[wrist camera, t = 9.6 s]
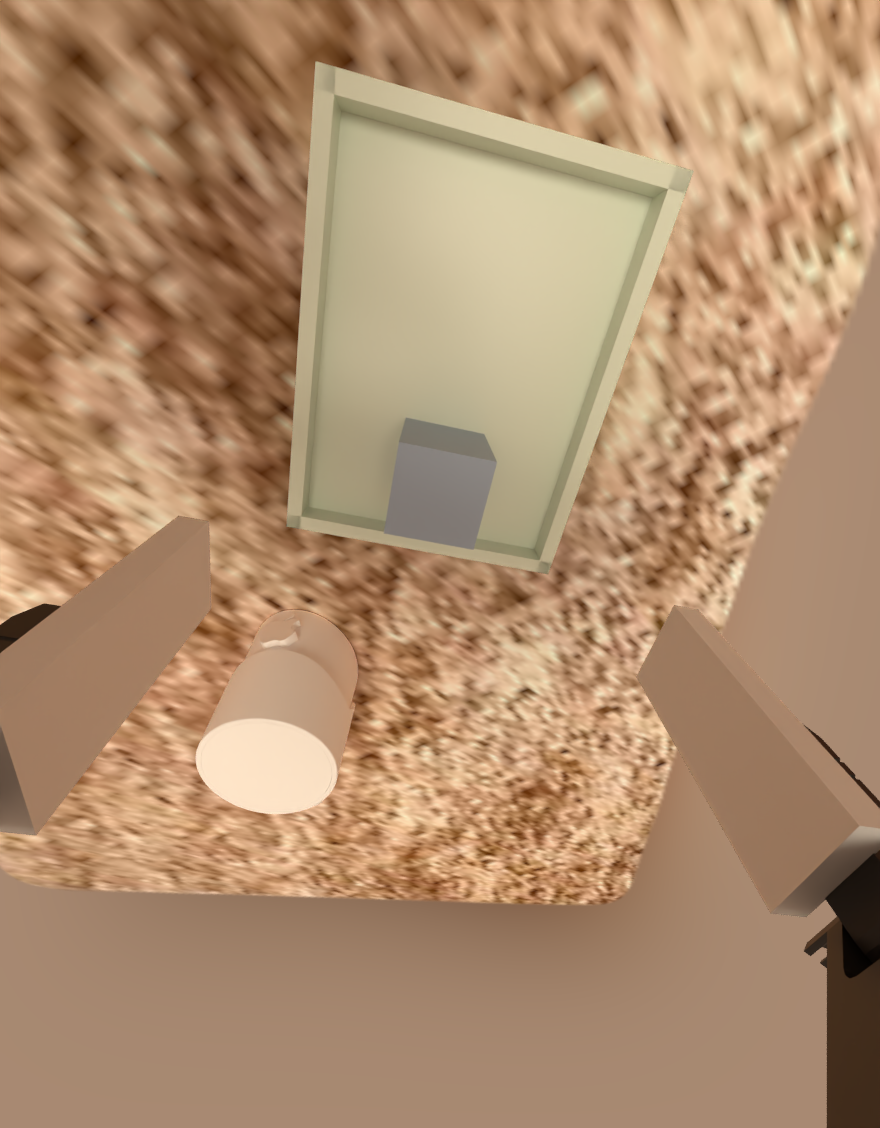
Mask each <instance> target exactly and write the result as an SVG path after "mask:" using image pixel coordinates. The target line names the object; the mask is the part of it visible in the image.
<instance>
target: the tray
mask: <svg viewBox="0 0 880 1128" xmlns="http://www.w3.org/2000/svg"><path fill="white" fill-rule="evenodd" d="M692 174H693V170H689V169H686V168H682V167H679V166H675V165H672V164H669V163H665V162H662V161H658V160H655V159H651V158H648V157H644V156H641V155H638V154H634V153H631V152H627V151H624V150H620V149H617V148H613V147H610V146H607V145H603V144H600V143H596V142H593V141H589V140H586V139H582V138H579V137H576V136H572V135H569V134H565V133H562V132H558V131H555V130H551V129H548V128H545V127H541V126H538V125H534V124H531V123H527V122H524V121H520V120H517V119H514V118H510V117H507V116H503V115H500V114H496V113H493V112H489V111H486V110H483V109H479V108H476V107H472V106H469V105H465V104H462V103H458V102H455V101H452V100H448V99H445V98H441V97H438V96H434V95H431V94H427V93H424V92H421V91H417V90H414V89H410V88H407V87H403V86H400V85H396V84H393V83H390V82H386V81H383V80H379V79H376V78H372V77H369V76H365V75H362V74H359V73H355V72H352V71H348V70H345V69H341V68H338V67H334V66H331V65H327V64H324V63H321V62H317V61H316V62H315V78H314V94H313V110H312V126H311V142H310V158H309V174H308V190H307V206H306V222H305V238H304V254H303V270H302V286H301V302H300V318H299V334H298V350H297V366H296V382H295V398H294V414H293V430H292V446H291V462H290V478H289V494H288V510H287V526H286V527H292V528H297V529H303V530H308V531H314V532H319V533H325V534H330V535H336V536H341V537H347V538H352V539H358V540H363V541H369V542H374V543H380V544H385V545H391V546H396V547H402V548H407V549H412V550H418V551H423V552H429V553H434V554H440V555H445V556H451V557H456V558H462V559H467V560H473V561H478V562H484V563H489V564H495V565H500V566H506V567H511V568H517V569H522V570H527V571H533V572H538V573H544V574H548V573H549V570H550V567H551V564H552V562H553V559H554V556H555V553H556V551H557V548H558V545H559V542H560V540H561V537H562V534H563V531H564V528H565V526H566V523H567V520H568V517H569V515H570V512H571V509H572V506H573V504H574V501H575V498H576V495H577V492H578V490H579V487H580V484H581V481H582V479H583V476H584V473H585V470H586V468H587V465H588V462H589V459H590V456H591V454H592V451H593V448H594V445H595V443H596V440H597V437H598V434H599V432H600V429H601V426H602V423H603V420H604V418H605V415H606V412H607V409H608V407H609V404H610V401H611V398H612V396H613V393H614V390H615V387H616V384H617V382H618V379H619V376H620V373H621V371H622V368H623V365H624V362H625V360H626V357H627V354H628V351H629V348H630V346H631V343H632V340H633V337H634V335H635V332H636V329H637V326H638V324H639V321H640V318H641V315H642V312H643V310H644V307H645V304H646V301H647V299H648V296H649V293H650V290H651V288H652V285H653V282H654V279H655V276H656V274H657V271H658V268H659V265H660V263H661V260H662V257H663V254H664V252H665V249H666V246H667V243H668V240H669V238H670V235H671V232H672V229H673V227H674V224H675V221H676V218H677V216H678V213H679V210H680V207H681V204H682V202H683V199H684V196H685V193H686V191H687V188H688V185H689V182H690V180H691V177H692ZM406 418H411V419H416V420H420V421H425V422H430V423H434V424H439V425H444V426H449V427H453V428H458V429H463V430H467V431H472V432H477V433H482V434H484V435H485V437H486V439H487V441H488V443H489V446H490V448H491V450H492V452H493V454H494V456H495V459H496V461H497V464H496V468H495V472H494V476H493V479H492V483H491V487H490V491H489V494H488V498H487V502H486V505H485V509H484V513H483V517H482V520H481V524H480V528H479V532H478V535H477V539H476V543H475V546H474V550H471V549H466V548H461V547H455V546H450V545H444V544H439V543H433V542H428V541H422V540H417V539H412V538H406V537H401V536H395V535H390V534H384V528H385V522H386V516H387V510H388V504H389V498H390V492H391V486H392V480H393V474H394V468H395V462H396V456H397V450H398V444H399V440H400V436H401V433H402V429H403V426H404V423H405V419H406Z"/></svg>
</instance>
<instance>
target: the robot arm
mask: <svg viewBox="0 0 880 1128" xmlns="http://www.w3.org/2000/svg"><path fill="white" fill-rule="evenodd" d="M210 609H211V580H210V538H209V521H204V520H199V519H193V518H188V517H182V516H178V517H176V518H175V519H174V520H173V521H171V522H170V523H169V524H167V525H166V526H165V527H163V528H162V529H161V530H160V531H158V532H157V533H156V534H154V535H153V536H152V537H151V538H149V539H148V540H147V541H145V542H144V543H143V544H141V545H140V546H139V547H138V548H136V549H135V550H134V551H132V552H131V553H130V554H128V555H127V556H126V557H125V558H123V559H122V560H121V561H119V562H118V563H117V564H115V565H114V566H113V567H112V568H110V569H109V570H108V571H106V572H105V573H104V574H102V575H101V576H100V577H99V578H97V579H96V580H95V581H93V582H92V583H91V584H89V585H88V586H87V587H86V588H84V589H83V590H82V591H80V592H79V593H78V594H76V595H75V596H74V597H73V598H71V599H70V600H69V601H67V602H66V603H65V604H63V605H62V606H57V605H50V604H42V605H39V606H37V607H34V608H32V609H30V610H27V611H25V612H22V613H20V614H17V615H15V616H12V617H11V618H9V619H8V620H7V621H5V622H4V623H2V624H1V625H0V832H8V833H17V834H27V835H37V834H38V832H39V831H40V830H41V828H42V827H43V826H44V825H45V823H46V822H47V821H48V819H49V818H50V817H51V815H52V814H53V813H54V812H55V810H56V809H57V808H58V806H59V805H60V804H61V803H62V801H63V800H64V799H65V797H66V796H67V795H68V793H69V792H70V791H71V790H72V788H73V787H74V786H75V784H76V783H77V782H78V780H79V779H80V778H81V777H82V775H83V774H84V773H85V771H86V770H87V769H88V767H89V766H90V765H91V764H92V762H93V761H94V760H95V758H96V757H97V756H98V754H99V753H100V752H101V751H102V749H103V748H104V747H105V745H106V744H107V743H108V742H109V740H110V739H111V738H112V736H113V735H114V734H115V732H116V731H117V730H118V729H119V727H120V726H121V725H122V723H123V722H124V721H125V719H126V718H127V717H128V716H129V714H130V713H131V712H132V710H133V709H134V708H135V706H136V705H137V704H138V703H139V701H140V700H141V699H142V697H143V696H144V695H145V693H146V692H147V691H148V690H149V688H150V687H151V686H152V684H153V683H154V682H155V681H156V679H157V678H158V677H159V675H160V674H161V673H162V671H163V670H164V669H165V668H166V666H167V665H168V664H169V662H170V661H171V660H172V658H173V657H174V656H175V655H176V653H177V652H178V651H179V649H180V648H181V647H182V645H183V644H184V643H185V642H186V640H187V639H188V638H189V636H190V635H191V634H192V632H193V631H194V630H195V629H196V627H197V626H198V625H199V623H200V622H201V621H202V620H203V618H204V617H205V616H206V614H207V613H208V612H209V610H210ZM636 677H637V679H638V681H639V682H640V684H641V686H642V688H643V689H644V691H645V693H646V695H647V697H648V698H649V700H650V702H651V704H652V705H653V707H654V709H655V711H656V712H657V714H658V716H659V718H660V719H661V721H662V723H663V725H664V727H665V728H666V730H667V732H668V734H669V735H670V737H671V739H672V741H673V742H674V744H675V746H676V748H677V749H678V751H679V753H680V755H681V756H682V758H683V760H684V762H685V763H686V765H687V767H688V769H689V770H690V772H691V774H692V776H693V778H694V779H695V781H696V783H697V785H698V786H699V788H700V790H701V792H702V794H703V795H704V797H705V799H706V800H707V802H708V804H709V806H710V808H711V809H712V811H713V813H714V815H715V816H716V818H717V820H718V822H719V823H720V825H721V827H722V829H723V830H724V832H725V834H726V836H727V838H728V839H729V841H730V843H731V845H732V846H733V848H734V850H735V852H736V853H737V855H738V857H739V859H740V861H741V862H742V864H743V866H744V867H745V869H746V871H747V873H748V874H749V876H750V878H751V880H752V882H753V883H754V885H755V887H756V889H757V890H758V892H759V894H760V896H761V897H762V899H763V901H764V903H765V905H766V906H767V908H768V910H769V911H770V913H772V914H781V915H791V916H800V917H807V916H808V915H809V914H810V913H811V912H812V911H814V910H815V909H816V908H817V907H818V906H819V905H820V904H821V903H822V902H823V901H824V900H827V902H828V903H829V905H830V906H831V907H832V909H833V910H834V912H835V913H836V915H837V917H836V918H835V919H834V920H833V921H832V922H830V923H829V924H828V925H827V926H826V927H825V928H824V929H822V930H821V931H820V932H819V933H818V934H817V935H816V936H814V937H813V938H812V939H811V940H810V941H809V942H807V944H806V947H805V950H804V952H806V953H807V954H808V955H810V956H811V955H812V954H814V953H815V952H816V951H817V950H818V949H820V948H821V947H824V948H827V957H826V958H824V959H823V960H822V961H821V962H820V963H821V964H822V965H823V966H825V967H826V968H827V1128H880V801H879V800H878V799H877V798H876V797H875V796H874V795H873V794H872V793H871V792H870V791H869V789H868V788H867V787H866V786H865V785H864V784H863V783H862V782H861V781H860V780H857V779H856V778H855V774H854V773H853V772H852V771H851V770H850V769H849V768H848V767H847V766H846V765H845V763H842V762H840V758H839V757H838V756H837V755H836V754H835V753H834V752H833V750H832V749H831V748H830V747H829V746H828V745H827V744H826V743H825V742H824V741H823V740H822V739H821V738H820V737H819V736H818V735H816V734H815V733H814V732H812V731H811V730H810V729H808V728H807V727H806V726H805V725H803V724H802V723H801V722H800V721H799V720H798V719H797V717H796V716H795V715H794V714H793V713H792V712H791V711H790V710H789V709H788V708H787V706H786V705H785V704H784V703H783V702H782V701H781V700H780V699H779V698H778V697H777V696H776V694H775V693H774V692H773V691H772V690H771V689H770V688H769V687H768V686H767V685H766V683H765V682H764V681H763V680H762V679H761V678H760V677H759V676H758V675H757V674H756V672H754V670H753V669H752V668H751V667H750V666H749V665H748V664H747V663H746V661H744V659H743V658H742V657H741V656H740V655H739V654H738V653H737V652H736V651H735V649H733V647H732V646H731V645H730V644H729V643H728V642H727V641H726V640H725V638H724V637H723V636H722V635H721V634H720V633H719V632H718V631H717V630H716V629H715V627H714V626H713V625H712V624H711V623H710V622H709V621H708V620H707V619H706V618H705V617H704V615H703V614H702V613H701V612H700V611H699V610H698V609H692V608H687V607H681V606H675V605H674V606H673V608H672V610H671V612H670V614H669V616H668V618H667V619H666V621H665V623H664V625H663V627H662V629H661V631H660V633H659V635H658V637H657V638H656V640H655V642H654V644H653V646H652V648H651V650H650V652H649V654H648V655H647V657H646V659H645V661H644V663H643V665H642V667H641V669H640V671H639V672H638V674H637V676H636Z"/></svg>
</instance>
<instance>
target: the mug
mask: <svg viewBox="0 0 880 1128" xmlns="http://www.w3.org/2000/svg"><path fill="white" fill-rule="evenodd" d="M357 679H358V663H357V659H356V655H355V653H354V650H353V648H352V646H351V644H350V642H349V641H348V639H347V638H346V637H345V635H344V634H343V633H342V632H341V631H340V630H339V629H338V628H337V627H336V626H335V625H334V624H333V623H331V622H330V621H328V620H327V619H325V618H324V617H322V616H320V615H317V614H315V613H312V612H309V611H304V610H285V611H281V612H278V613H276V614H274V615H272V616H270V617H269V618H268V619H266V620H265V621H264V622H263V624H262V625H261V626H260V628H259V630H258V632H257V634H256V636H255V638H254V640H253V643H252V645H251V647H250V649H249V651H248V653H247V656H246V658H245V660H244V661H243V662H242V663H241V664H240V665H239V666H238V667H237V669H236V670H235V671H234V673H233V674H232V676H231V678H230V680H229V682H228V684H227V687H226V689H225V691H224V693H223V695H222V697H221V699H220V701H219V703H218V705H217V708H216V710H215V712H214V714H213V716H212V718H211V720H210V722H209V724H208V726H207V729H206V731H205V733H204V735H203V737H202V739H201V741H200V743H199V745H198V748H197V751H196V765H197V769H198V772H199V774H200V776H201V778H202V779H203V781H204V782H205V783H206V785H207V786H208V787H209V788H210V789H211V790H212V791H213V792H214V793H216V794H217V795H218V796H220V797H221V798H223V799H224V800H226V801H228V802H230V803H232V804H234V805H236V806H238V807H241V808H244V809H247V810H251V811H255V812H260V813H267V814H287V813H294V812H299V811H303V810H306V809H308V808H311V807H313V806H317V805H319V804H320V803H322V801H323V800H324V799H325V798H326V797H327V796H328V795H329V794H330V793H331V791H332V790H333V788H334V786H335V784H336V781H337V777H338V773H339V769H340V765H341V761H342V757H343V753H344V749H345V745H346V741H347V737H348V733H349V728H350V724H351V720H352V716H353V712H354V708H355V703H354V702H352V699H353V695H354V691H355V687H356V684H357Z"/></svg>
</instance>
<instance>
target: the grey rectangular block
mask: <svg viewBox="0 0 880 1128" xmlns="http://www.w3.org/2000/svg"><path fill="white" fill-rule="evenodd" d="M496 464H497V461H496V459H495V456H494V454H493V452H492V450H491V448H490V446H489V443H488V441H487V439H486V437H485V435H484V434H482V433H477V432H472V431H467V430H463V429H458V428H453V427H449V426H444V425H439V424H434V423H430V422H425V421H420V420H416V419H411V418H406V419H405V423H404V426H403V429H402V433H401V436H400V440H399V444H398V450H397V456H396V462H395V468H394V474H393V480H392V486H391V492H390V498H389V504H388V510H387V516H386V522H385V528H384V534H390V535H395V536H401V537H406V538H412V539H417V540H422V541H428V542H433V543H439V544H444V545H450V546H455V547H461V548H466V549H471V550H474V546H475V543H476V539H477V535H478V532H479V528H480V524H481V520H482V517H483V513H484V509H485V505H486V502H487V498H488V494H489V491H490V487H491V483H492V479H493V476H494V472H495V468H496Z"/></svg>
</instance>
